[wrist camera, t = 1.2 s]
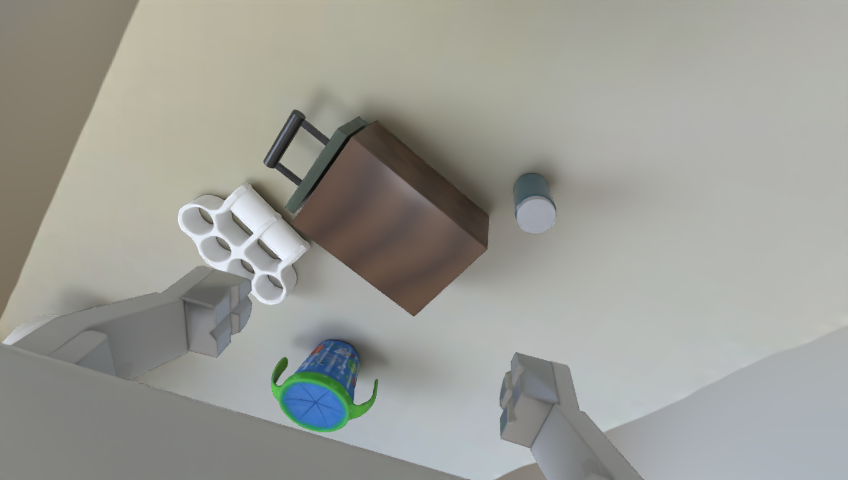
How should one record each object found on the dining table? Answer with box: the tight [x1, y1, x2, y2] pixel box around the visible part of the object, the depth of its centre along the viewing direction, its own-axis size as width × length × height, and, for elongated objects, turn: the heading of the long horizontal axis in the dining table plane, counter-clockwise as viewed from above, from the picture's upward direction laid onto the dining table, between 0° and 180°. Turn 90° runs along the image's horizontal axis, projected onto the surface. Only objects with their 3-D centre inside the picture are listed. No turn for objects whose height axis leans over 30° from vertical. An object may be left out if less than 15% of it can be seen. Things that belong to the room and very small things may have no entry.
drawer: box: [263, 110, 367, 214], centre depth 45 cm, size 21×11×7 cm, turn 51°
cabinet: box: [291, 121, 489, 316], centre depth 46 cm, size 18×13×9 cm
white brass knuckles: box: [178, 182, 310, 304], centre depth 55 cm, size 3×18×15 cm
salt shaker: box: [513, 173, 556, 234], centre depth 43 cm, size 4×4×8 cm
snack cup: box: [271, 340, 378, 432], centre depth 59 cm, size 16×10×10 cm
